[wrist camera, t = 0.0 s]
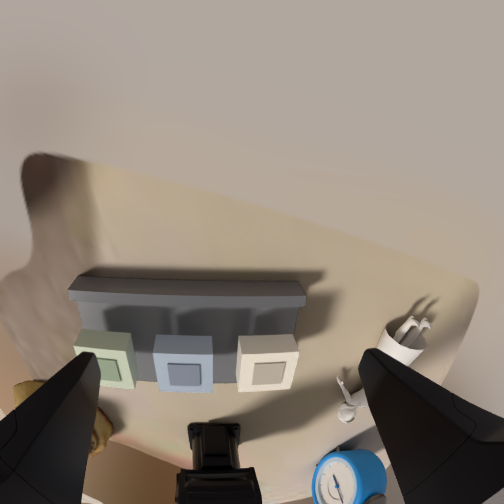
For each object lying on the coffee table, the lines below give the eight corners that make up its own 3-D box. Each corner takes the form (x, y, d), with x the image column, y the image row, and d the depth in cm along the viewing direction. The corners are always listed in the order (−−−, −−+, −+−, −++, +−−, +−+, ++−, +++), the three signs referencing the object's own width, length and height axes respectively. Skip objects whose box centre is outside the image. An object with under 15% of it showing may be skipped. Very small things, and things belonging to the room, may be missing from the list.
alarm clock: (343, 436, 38) (375, 512, 24) (370, 434, 40) (403, 502, 26) (303, 472, 42) (323, 537, 29) (330, 469, 44) (352, 530, 30)
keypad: (280, 372, 29) (285, 388, 27) (100, 368, 26) (95, 384, 24) (298, 281, 25) (306, 295, 23) (77, 275, 22) (67, 289, 20)
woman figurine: (459, 334, 26) (378, 427, 34) (440, 311, 30) (368, 404, 37) (392, 327, 24) (308, 433, 31) (372, 299, 27) (301, 406, 35)
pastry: (129, 435, 32) (123, 483, 24) (58, 438, 32) (47, 477, 24) (69, 371, 26) (48, 425, 19) (2, 382, 26) (-18, 423, 19)
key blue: (211, 373, 24) (212, 393, 22) (161, 372, 23) (159, 392, 21) (211, 335, 22) (212, 356, 20) (156, 334, 22) (152, 354, 20)
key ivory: (284, 371, 25) (290, 389, 23) (235, 373, 24) (238, 393, 22) (292, 334, 23) (300, 352, 21) (238, 335, 23) (242, 355, 21)
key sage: (138, 371, 23) (134, 390, 21) (93, 366, 22) (86, 385, 20) (130, 332, 21) (125, 352, 19) (81, 328, 21) (72, 346, 18)
